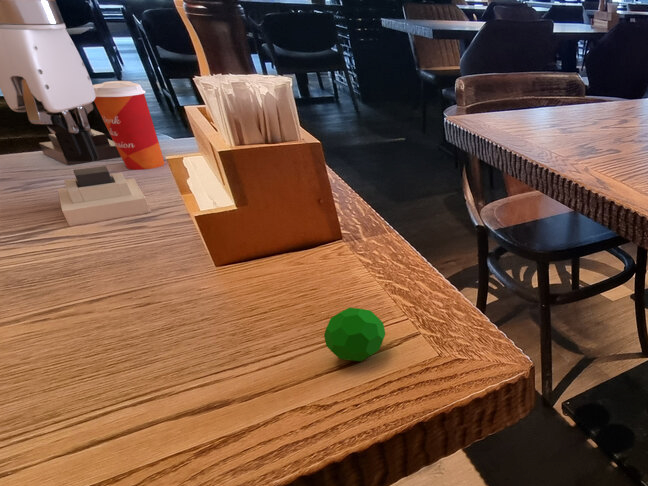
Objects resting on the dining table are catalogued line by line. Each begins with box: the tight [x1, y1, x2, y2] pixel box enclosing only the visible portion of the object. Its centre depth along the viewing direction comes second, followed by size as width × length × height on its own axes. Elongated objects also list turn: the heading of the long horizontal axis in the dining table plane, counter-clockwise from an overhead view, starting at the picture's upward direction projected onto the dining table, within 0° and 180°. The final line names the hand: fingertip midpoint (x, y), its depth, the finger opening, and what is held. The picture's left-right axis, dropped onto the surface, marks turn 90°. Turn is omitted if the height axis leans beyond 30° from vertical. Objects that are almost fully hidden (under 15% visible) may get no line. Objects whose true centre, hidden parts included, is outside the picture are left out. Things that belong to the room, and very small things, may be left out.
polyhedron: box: [323, 307, 386, 362], centre depth 48 cm, size 5×5×5 cm
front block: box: [57, 172, 152, 227], centre depth 77 cm, size 12×9×4 cm
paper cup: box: [92, 82, 165, 171], centre depth 93 cm, size 8×8×14 cm
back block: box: [38, 128, 121, 167], centre depth 100 cm, size 12×9×4 cm
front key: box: [73, 165, 113, 187], centre depth 76 cm, size 4×4×2 cm
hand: (83, 159), depth 74 cm, fingers closed
